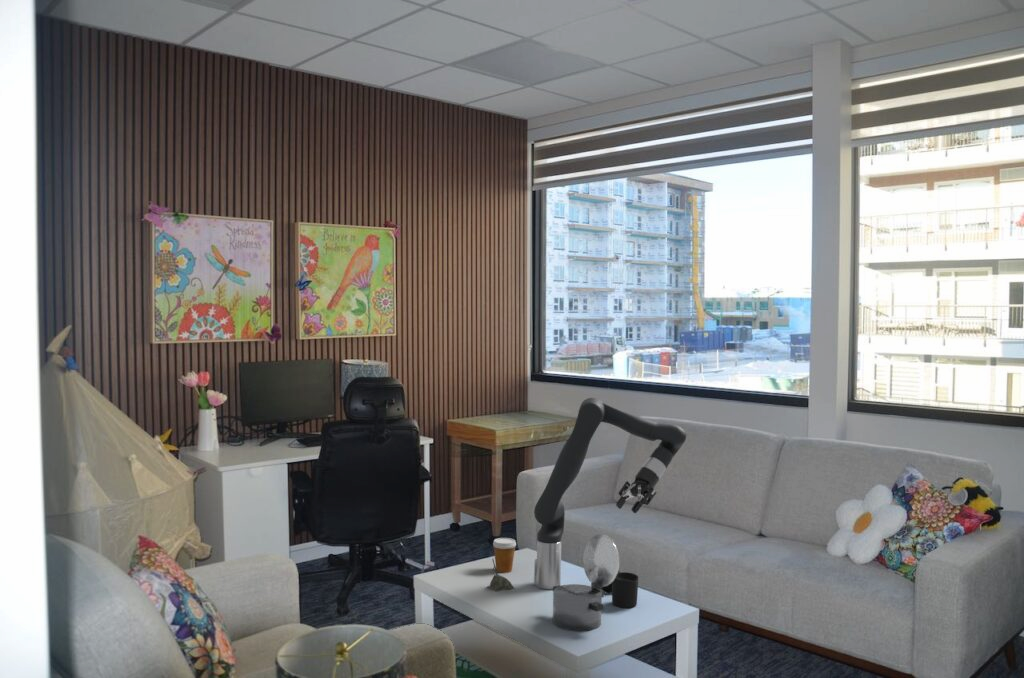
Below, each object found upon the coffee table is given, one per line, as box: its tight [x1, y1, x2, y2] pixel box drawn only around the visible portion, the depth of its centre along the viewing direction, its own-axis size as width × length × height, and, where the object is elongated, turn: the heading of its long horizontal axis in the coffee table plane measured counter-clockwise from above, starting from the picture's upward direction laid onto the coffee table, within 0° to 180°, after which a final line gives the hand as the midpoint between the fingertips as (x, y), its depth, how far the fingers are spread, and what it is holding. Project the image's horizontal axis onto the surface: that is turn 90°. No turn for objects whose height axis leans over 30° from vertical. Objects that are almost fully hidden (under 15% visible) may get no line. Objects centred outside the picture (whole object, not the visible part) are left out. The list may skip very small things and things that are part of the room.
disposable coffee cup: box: [492, 537, 517, 574], centre depth 317 cm, size 10×10×12 cm
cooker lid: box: [582, 534, 621, 589], centre depth 267 cm, size 18×17×3 cm
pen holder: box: [611, 571, 639, 609], centre depth 279 cm, size 9×9×10 cm
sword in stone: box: [486, 558, 515, 592], centre depth 295 cm, size 10×8×12 cm
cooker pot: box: [552, 583, 605, 632], centre depth 261 cm, size 17×23×10 cm
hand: (625, 509), depth 273 cm, fingers open, 7 cm apart
